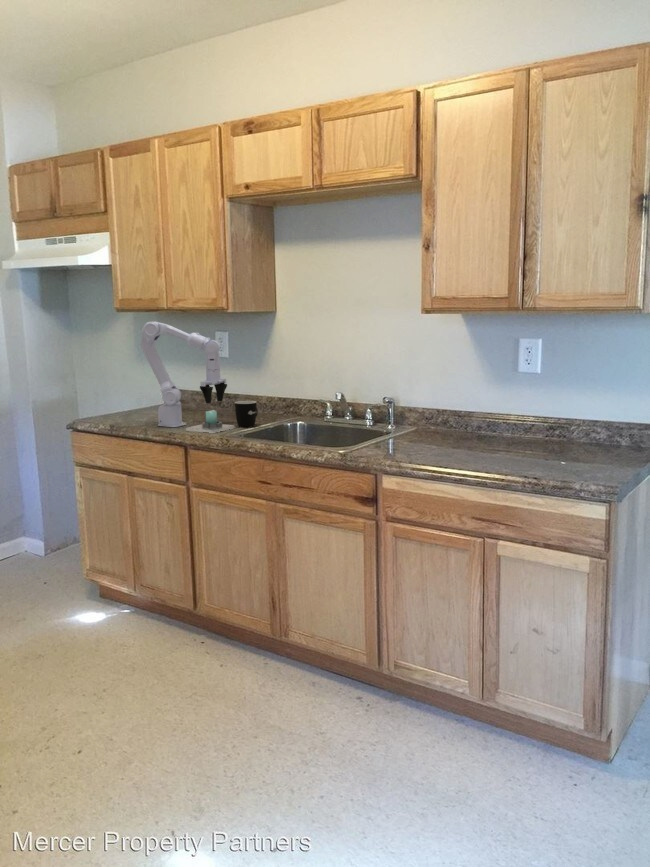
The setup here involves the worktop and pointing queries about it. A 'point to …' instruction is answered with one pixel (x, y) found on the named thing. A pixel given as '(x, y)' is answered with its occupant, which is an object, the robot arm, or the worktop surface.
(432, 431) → the worktop surface
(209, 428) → the panel
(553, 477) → the worktop surface
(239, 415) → the mug
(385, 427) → the worktop surface
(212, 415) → the knob
